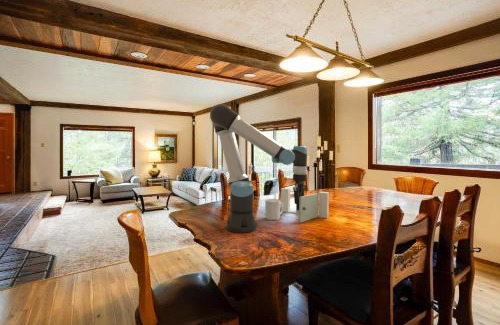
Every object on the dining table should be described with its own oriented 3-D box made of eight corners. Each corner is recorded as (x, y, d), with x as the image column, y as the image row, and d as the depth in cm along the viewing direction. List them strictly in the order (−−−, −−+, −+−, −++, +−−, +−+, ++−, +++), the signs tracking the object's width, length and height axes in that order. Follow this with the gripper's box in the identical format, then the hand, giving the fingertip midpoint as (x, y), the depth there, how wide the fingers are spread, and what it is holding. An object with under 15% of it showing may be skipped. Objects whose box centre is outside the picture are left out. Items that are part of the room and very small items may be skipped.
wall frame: (280, 211, 173) (281, 188, 172) (282, 210, 175) (283, 188, 175) (326, 218, 157) (327, 193, 156) (328, 217, 160) (329, 192, 159)
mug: (287, 218, 156) (287, 200, 155) (270, 221, 150) (270, 202, 150) (279, 215, 163) (279, 197, 163) (262, 217, 158) (262, 199, 157)
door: (303, 224, 145) (303, 195, 144) (298, 223, 147) (299, 195, 146) (320, 217, 158) (321, 191, 157) (316, 216, 160) (317, 191, 159)
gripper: (301, 175, 141) (300, 219, 142) (310, 173, 152) (309, 213, 153) (288, 174, 145) (287, 216, 146) (297, 172, 156) (296, 212, 157)
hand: (298, 215), depth 150 cm, fingers closed
